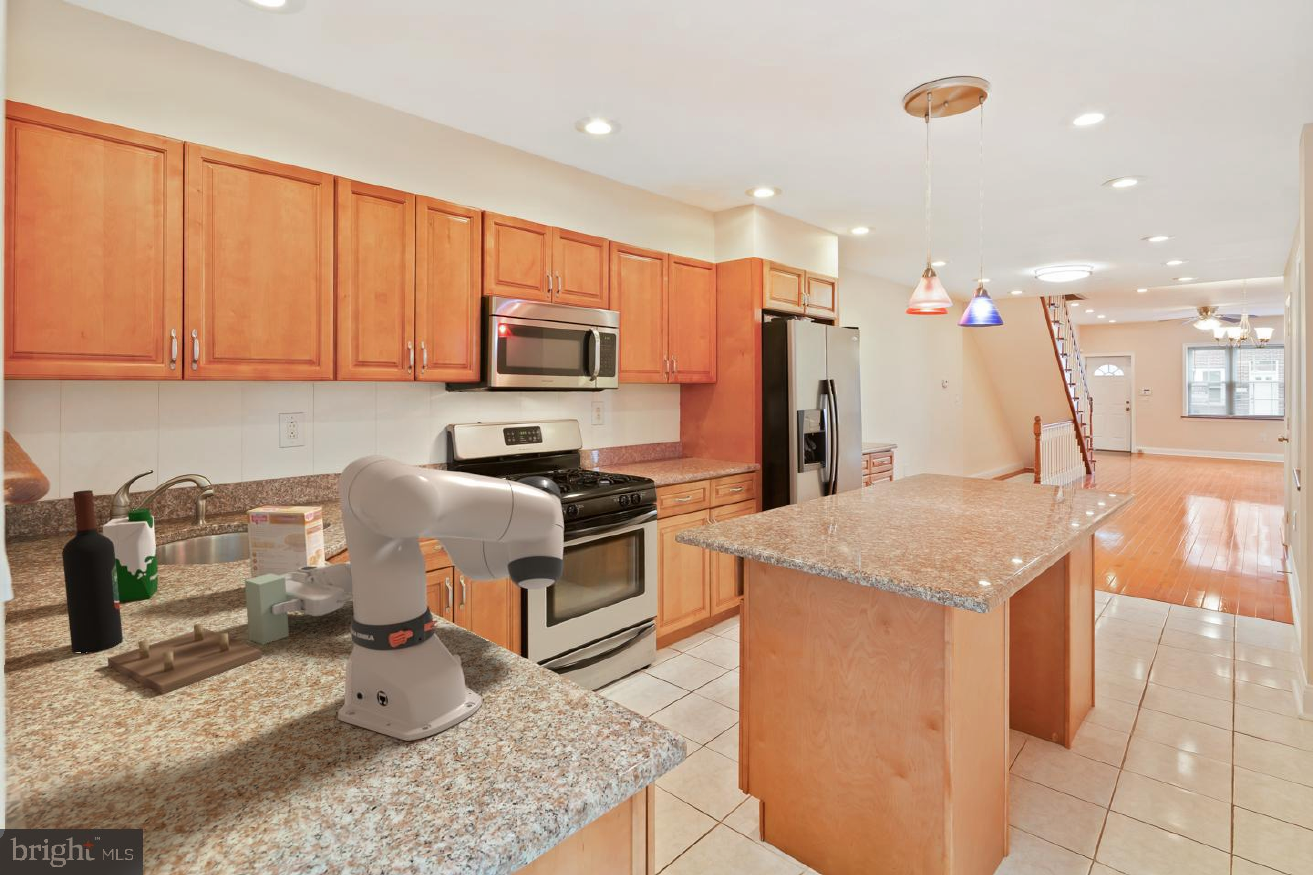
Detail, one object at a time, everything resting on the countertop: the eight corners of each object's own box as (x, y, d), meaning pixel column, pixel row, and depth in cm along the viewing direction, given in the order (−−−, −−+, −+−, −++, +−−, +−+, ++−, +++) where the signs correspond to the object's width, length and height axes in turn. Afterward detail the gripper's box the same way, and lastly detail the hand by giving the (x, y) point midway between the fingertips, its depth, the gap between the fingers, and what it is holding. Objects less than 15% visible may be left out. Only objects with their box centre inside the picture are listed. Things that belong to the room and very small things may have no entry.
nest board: (261, 657, 125) (259, 634, 124) (162, 694, 111) (160, 668, 111) (205, 635, 135) (203, 613, 134) (108, 666, 121) (106, 642, 121)
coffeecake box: (327, 584, 165) (322, 506, 163) (308, 594, 158) (303, 512, 156) (271, 581, 168) (266, 504, 165) (250, 591, 161) (245, 510, 158)
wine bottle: (64, 648, 129) (48, 493, 125) (111, 634, 135) (97, 486, 132) (83, 656, 125) (67, 497, 122) (130, 641, 132) (116, 490, 128)
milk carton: (154, 599, 155) (146, 513, 153) (104, 605, 151) (96, 517, 149) (163, 587, 163) (156, 506, 161) (116, 593, 159) (108, 509, 157)
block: (288, 635, 134) (285, 577, 133) (263, 644, 130) (259, 584, 129) (274, 630, 137) (270, 573, 136) (249, 639, 133) (244, 580, 131)
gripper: (359, 610, 139) (294, 633, 127) (301, 592, 149) (235, 612, 138) (358, 580, 138) (292, 601, 126) (299, 565, 149) (233, 582, 137)
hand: (262, 606), depth 132 cm, fingers closed on block, 5 cm apart
